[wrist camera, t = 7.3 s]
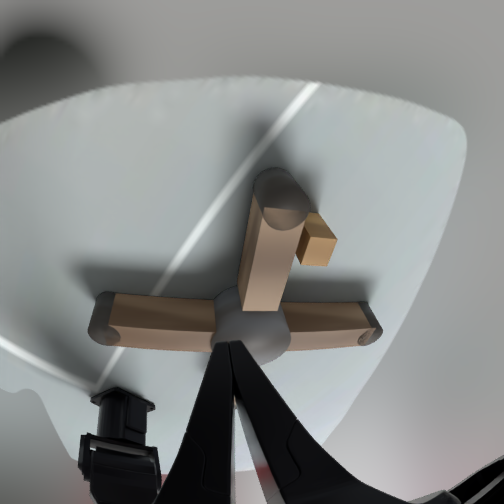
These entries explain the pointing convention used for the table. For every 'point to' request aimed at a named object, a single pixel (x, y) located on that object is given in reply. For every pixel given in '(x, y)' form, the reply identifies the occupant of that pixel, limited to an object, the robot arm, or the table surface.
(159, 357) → the table surface
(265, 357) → the stool base
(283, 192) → the folding leg
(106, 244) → the table surface
